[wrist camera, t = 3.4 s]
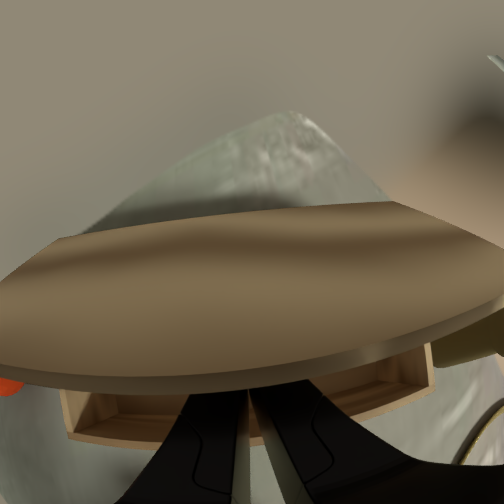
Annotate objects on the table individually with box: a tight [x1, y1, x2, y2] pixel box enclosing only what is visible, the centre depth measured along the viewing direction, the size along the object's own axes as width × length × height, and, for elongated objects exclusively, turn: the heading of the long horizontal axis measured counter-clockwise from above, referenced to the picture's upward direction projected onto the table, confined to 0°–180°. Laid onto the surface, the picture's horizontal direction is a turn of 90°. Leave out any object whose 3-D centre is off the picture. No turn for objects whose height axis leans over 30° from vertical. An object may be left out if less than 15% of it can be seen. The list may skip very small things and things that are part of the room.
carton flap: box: [0, 201, 504, 395], centre depth 9 cm, size 11×21×1 cm
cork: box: [430, 307, 504, 368], centre depth 15 cm, size 6×6×11 cm
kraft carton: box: [59, 342, 435, 450], centre depth 17 cm, size 12×22×8 cm, turn 98°
